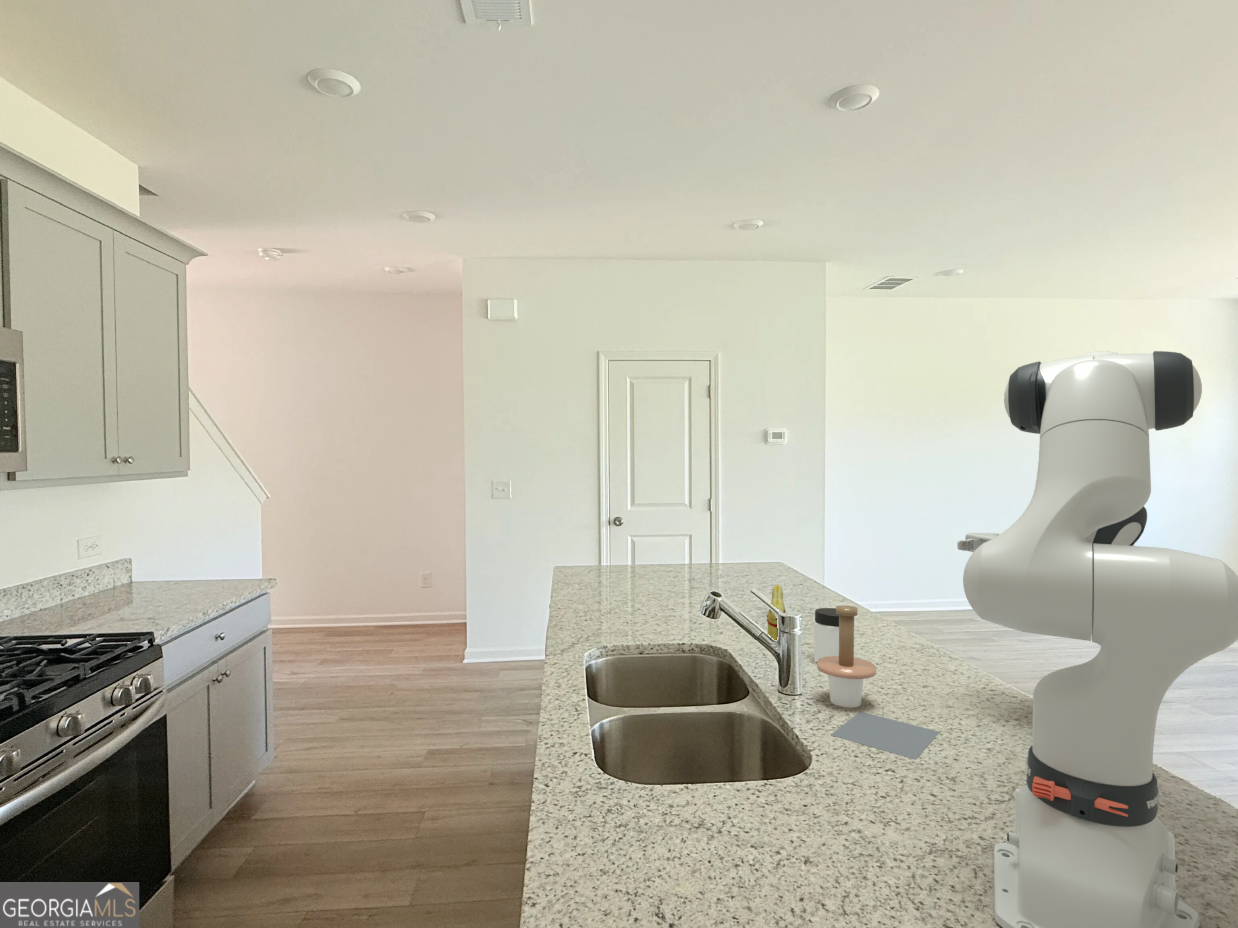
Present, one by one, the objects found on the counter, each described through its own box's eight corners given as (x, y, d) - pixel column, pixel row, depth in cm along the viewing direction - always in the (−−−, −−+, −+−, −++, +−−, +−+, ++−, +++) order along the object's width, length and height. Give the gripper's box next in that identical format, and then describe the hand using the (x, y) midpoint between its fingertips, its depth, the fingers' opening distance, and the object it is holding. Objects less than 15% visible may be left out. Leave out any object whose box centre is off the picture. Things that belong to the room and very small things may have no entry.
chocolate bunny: (766, 646, 168) (766, 588, 168) (767, 635, 179) (767, 580, 179) (793, 648, 166) (794, 590, 166) (793, 637, 177) (793, 582, 177)
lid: (863, 683, 121) (864, 617, 121) (807, 670, 128) (807, 607, 128) (884, 668, 129) (885, 607, 129) (830, 657, 136) (831, 599, 136)
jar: (849, 669, 150) (849, 617, 150) (812, 664, 154) (812, 613, 154) (851, 658, 159) (852, 609, 159) (816, 654, 162) (817, 606, 162)
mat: (915, 762, 104) (915, 759, 104) (830, 738, 113) (830, 734, 113) (939, 735, 115) (939, 731, 115) (860, 714, 124) (860, 711, 124)
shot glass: (866, 712, 125) (867, 676, 125) (829, 709, 126) (829, 673, 126) (860, 699, 132) (861, 665, 131) (825, 697, 133) (825, 662, 133)
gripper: (1002, 525, 133) (940, 525, 130) (1090, 537, 113) (1019, 538, 110) (1002, 556, 133) (940, 557, 130) (1090, 574, 113) (1019, 576, 110)
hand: (977, 549), depth 120 cm, fingers open, 8 cm apart
